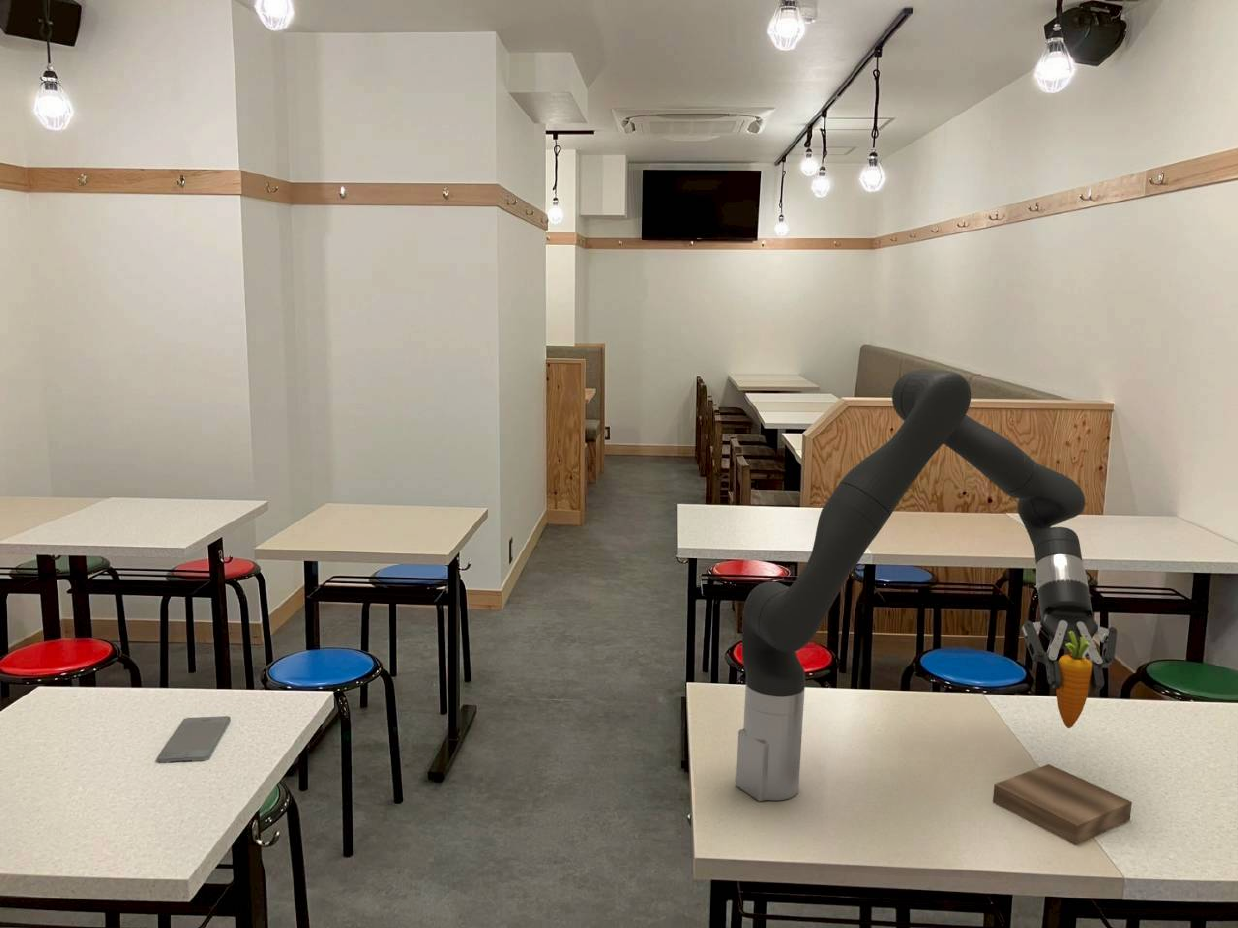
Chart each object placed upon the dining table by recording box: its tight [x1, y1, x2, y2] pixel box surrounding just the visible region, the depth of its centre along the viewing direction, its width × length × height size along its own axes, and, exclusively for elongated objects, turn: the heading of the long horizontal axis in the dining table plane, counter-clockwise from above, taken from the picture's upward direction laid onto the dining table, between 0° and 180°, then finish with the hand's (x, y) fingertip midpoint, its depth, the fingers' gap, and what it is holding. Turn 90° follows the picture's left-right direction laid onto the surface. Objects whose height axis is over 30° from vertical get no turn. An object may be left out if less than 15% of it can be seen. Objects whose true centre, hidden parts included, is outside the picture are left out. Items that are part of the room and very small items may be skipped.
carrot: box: [1055, 631, 1093, 729], centre depth 144 cm, size 5×5×15 cm
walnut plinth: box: [992, 763, 1133, 846], centre depth 147 cm, size 14×14×3 cm
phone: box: [156, 715, 232, 764], centre depth 163 cm, size 8×16×1 cm, turn 9°
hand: (1077, 688), depth 142 cm, fingers closed on carrot, 5 cm apart
